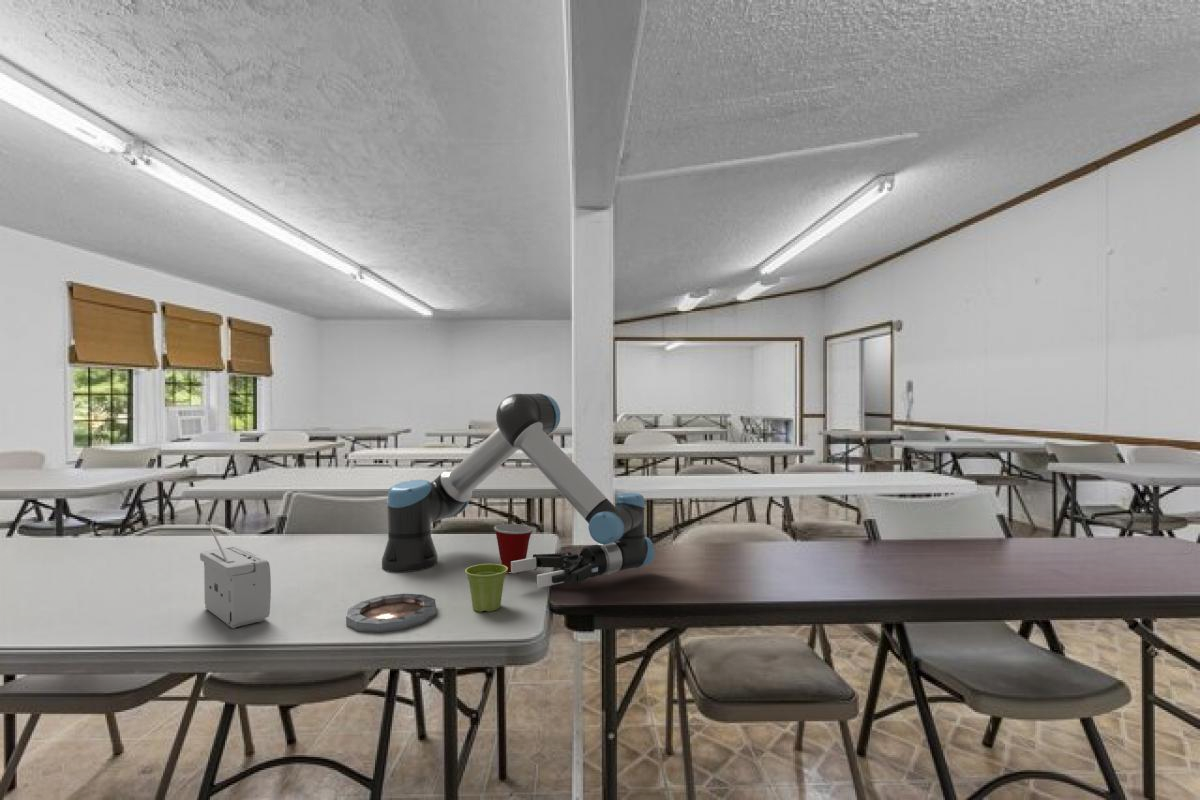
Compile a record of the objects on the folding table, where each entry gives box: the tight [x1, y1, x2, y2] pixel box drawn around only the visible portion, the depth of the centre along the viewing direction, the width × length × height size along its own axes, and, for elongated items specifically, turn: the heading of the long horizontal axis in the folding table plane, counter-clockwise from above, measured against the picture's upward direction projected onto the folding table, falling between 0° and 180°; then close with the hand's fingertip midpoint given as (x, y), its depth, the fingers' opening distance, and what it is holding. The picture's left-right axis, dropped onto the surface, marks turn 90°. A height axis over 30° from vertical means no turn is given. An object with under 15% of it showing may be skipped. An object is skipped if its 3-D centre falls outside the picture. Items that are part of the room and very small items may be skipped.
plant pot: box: [464, 563, 508, 613], centre depth 131 cm, size 9×9×9 cm
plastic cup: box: [493, 523, 534, 572], centre depth 160 cm, size 11×11×12 cm
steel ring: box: [345, 593, 437, 634], centre depth 127 cm, size 18×18×2 cm
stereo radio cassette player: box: [199, 521, 272, 629], centre depth 129 cm, size 21×8×20 cm, turn 48°
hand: (523, 574), depth 136 cm, fingers open, 13 cm apart
